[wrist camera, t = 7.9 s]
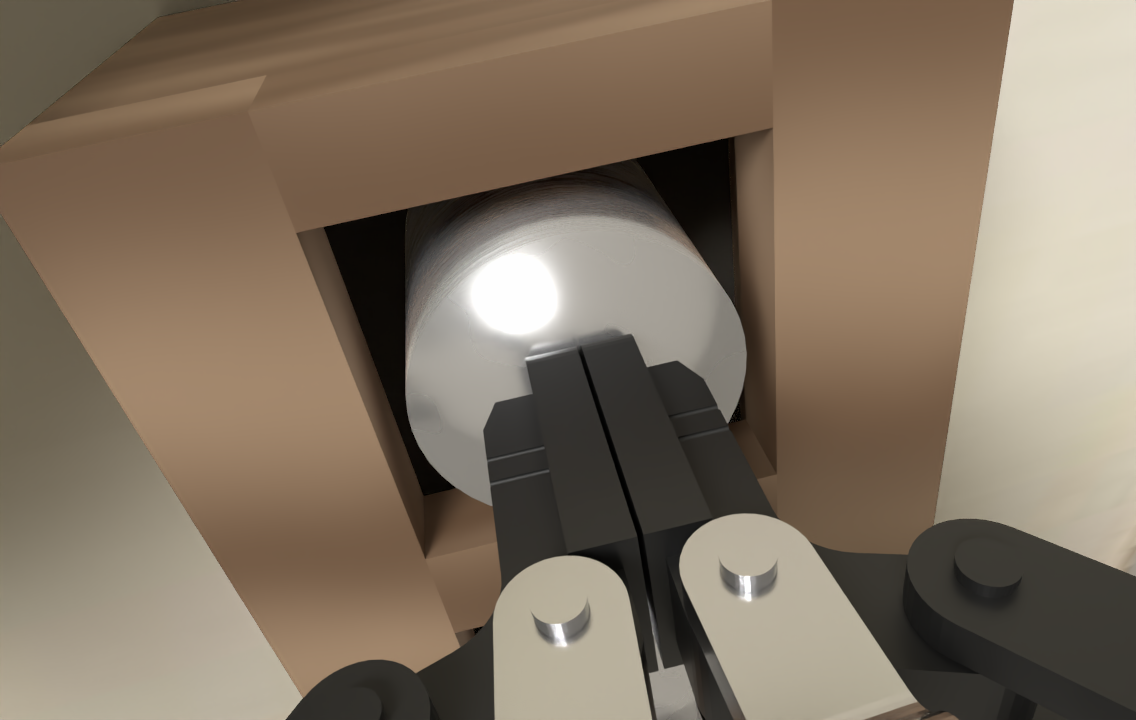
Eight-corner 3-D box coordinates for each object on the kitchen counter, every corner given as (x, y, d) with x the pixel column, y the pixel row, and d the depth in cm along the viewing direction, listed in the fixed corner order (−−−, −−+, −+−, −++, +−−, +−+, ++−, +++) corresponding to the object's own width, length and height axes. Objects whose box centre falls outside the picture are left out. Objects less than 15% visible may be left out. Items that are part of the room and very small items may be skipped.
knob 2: (371, 144, 14) (358, 282, 10) (642, 85, 14) (741, 196, 10) (441, 366, 17) (454, 546, 12) (666, 314, 17) (751, 475, 13)
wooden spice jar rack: (157, 17, 15) (-26, 170, 9) (765, -109, 16) (1021, -54, 9) (464, 726, 30) (481, 983, 23) (776, 647, 30) (879, 877, 24)
